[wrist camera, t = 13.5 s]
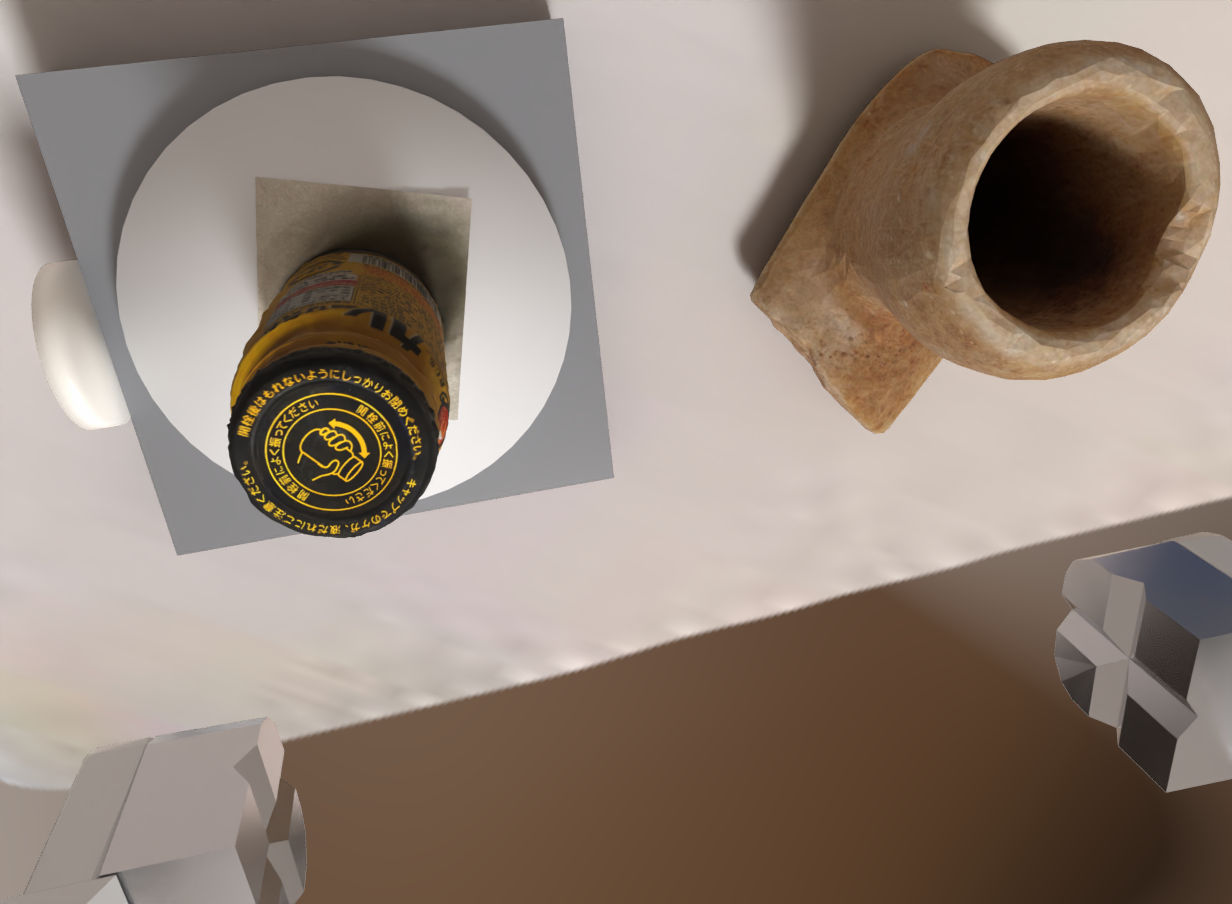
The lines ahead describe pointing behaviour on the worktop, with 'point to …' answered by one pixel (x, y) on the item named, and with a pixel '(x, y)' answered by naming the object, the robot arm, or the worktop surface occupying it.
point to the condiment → (349, 353)
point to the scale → (227, 250)
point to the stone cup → (996, 222)
